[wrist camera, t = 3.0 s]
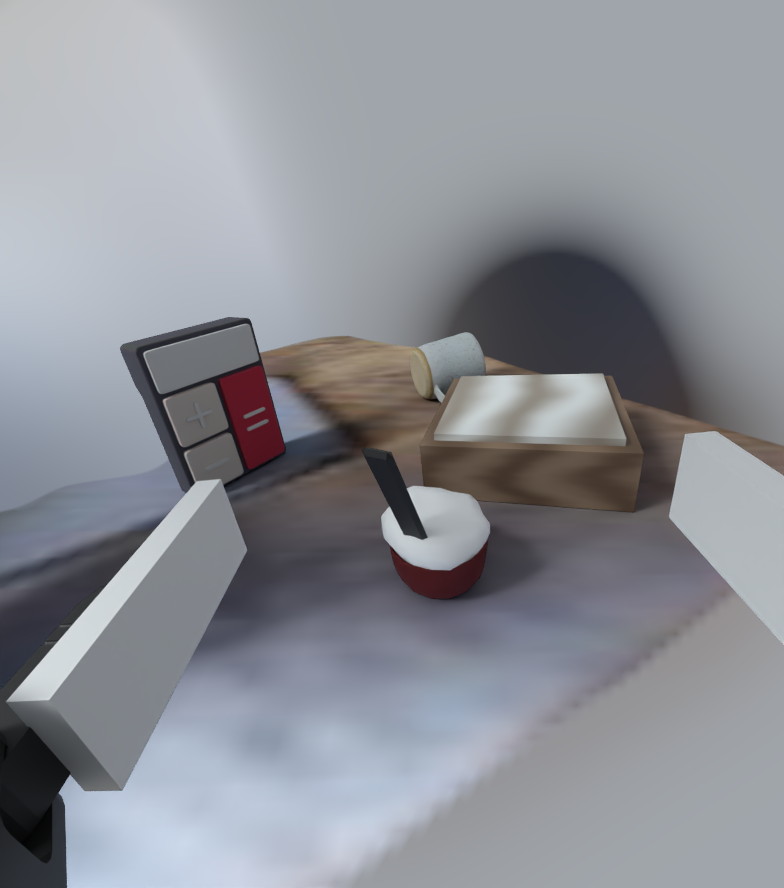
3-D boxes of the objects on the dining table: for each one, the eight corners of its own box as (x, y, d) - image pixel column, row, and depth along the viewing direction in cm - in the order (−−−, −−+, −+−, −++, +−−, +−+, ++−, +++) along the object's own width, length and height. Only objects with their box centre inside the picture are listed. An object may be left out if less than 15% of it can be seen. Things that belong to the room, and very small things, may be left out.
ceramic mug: (410, 392, 60) (404, 338, 56) (462, 379, 61) (460, 327, 58) (440, 419, 50) (436, 357, 47) (500, 404, 52) (500, 343, 49)
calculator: (200, 503, 40) (137, 348, 33) (179, 491, 42) (117, 345, 36) (291, 453, 47) (254, 317, 40) (269, 445, 50) (231, 316, 43)
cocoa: (454, 531, 32) (445, 381, 28) (521, 572, 28) (524, 399, 23) (350, 593, 28) (316, 424, 23) (408, 655, 23) (382, 459, 18)
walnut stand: (424, 496, 36) (419, 439, 34) (456, 418, 50) (453, 373, 47) (633, 512, 31) (645, 446, 29) (606, 420, 44) (612, 370, 42)
